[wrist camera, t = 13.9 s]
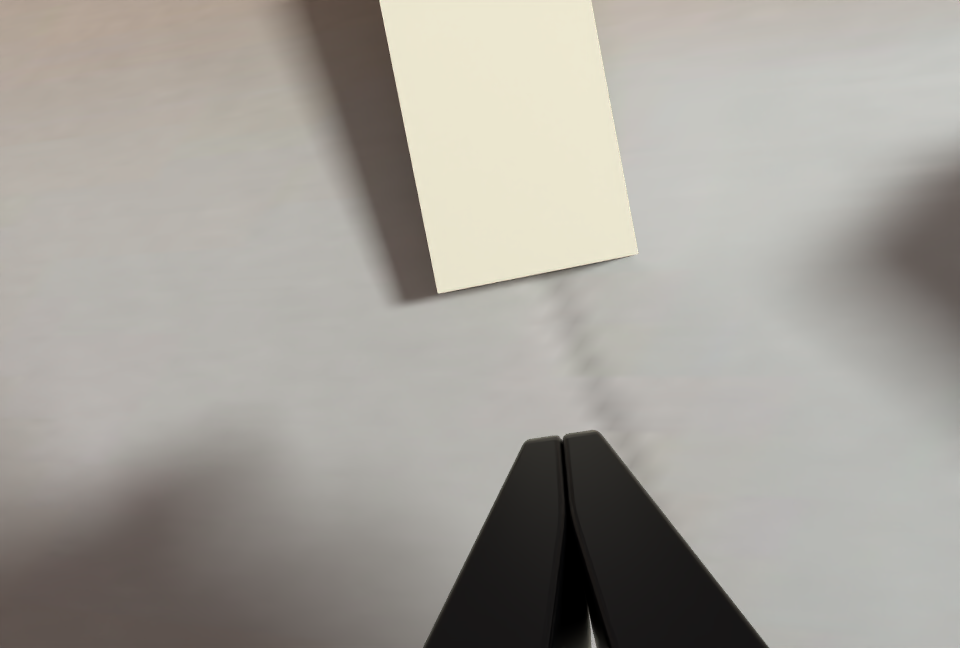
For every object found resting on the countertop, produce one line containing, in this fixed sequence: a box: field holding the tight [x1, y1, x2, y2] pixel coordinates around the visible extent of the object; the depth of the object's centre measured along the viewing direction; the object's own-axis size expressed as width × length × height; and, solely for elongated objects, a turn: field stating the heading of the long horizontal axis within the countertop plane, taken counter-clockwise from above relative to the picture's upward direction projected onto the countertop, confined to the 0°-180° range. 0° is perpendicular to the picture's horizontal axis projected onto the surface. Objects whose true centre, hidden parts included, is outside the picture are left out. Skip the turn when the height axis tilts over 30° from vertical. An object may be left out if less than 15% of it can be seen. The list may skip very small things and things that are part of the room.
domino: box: [379, 0, 638, 294], centre depth 19 cm, size 2×5×10 cm
